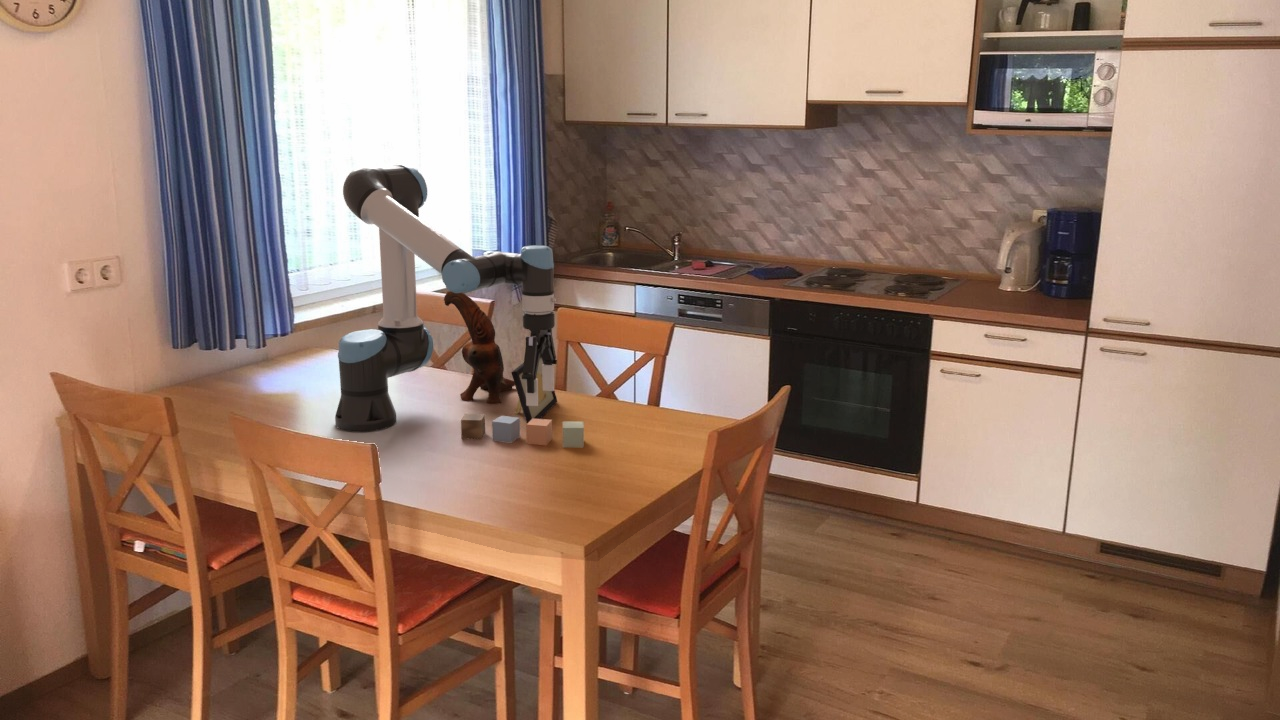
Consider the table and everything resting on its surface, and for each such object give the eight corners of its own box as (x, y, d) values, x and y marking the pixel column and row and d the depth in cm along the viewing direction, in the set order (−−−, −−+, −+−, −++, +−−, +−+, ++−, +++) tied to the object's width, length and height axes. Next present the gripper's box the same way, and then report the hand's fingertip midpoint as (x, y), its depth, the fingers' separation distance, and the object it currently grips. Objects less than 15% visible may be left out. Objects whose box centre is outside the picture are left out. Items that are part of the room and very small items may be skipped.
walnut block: (461, 439, 245) (460, 419, 244) (465, 432, 250) (464, 413, 249) (481, 439, 245) (481, 420, 244) (485, 433, 250) (484, 414, 249)
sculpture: (440, 396, 281) (437, 291, 274) (485, 382, 296) (483, 282, 289) (490, 407, 271) (487, 298, 264) (533, 392, 286) (532, 289, 279)
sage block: (562, 447, 241) (562, 427, 239) (562, 440, 245) (562, 421, 244) (583, 447, 241) (583, 427, 240) (583, 440, 246) (583, 421, 244)
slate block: (492, 440, 245) (492, 421, 243) (501, 434, 249) (501, 415, 248) (511, 443, 243) (510, 423, 242) (519, 437, 248) (519, 417, 246)
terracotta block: (526, 444, 243) (526, 424, 241) (532, 437, 247) (532, 418, 246) (546, 445, 242) (546, 426, 241) (552, 439, 247) (552, 419, 245)
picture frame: (532, 427, 254) (525, 370, 251) (499, 428, 256) (492, 372, 253) (557, 402, 276) (551, 350, 273) (527, 403, 278) (520, 351, 275)
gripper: (538, 322, 224) (540, 413, 229) (567, 302, 248) (568, 385, 253) (506, 321, 225) (509, 411, 230) (538, 301, 249) (540, 383, 254)
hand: (540, 397), depth 242 cm, fingers open, 13 cm apart
